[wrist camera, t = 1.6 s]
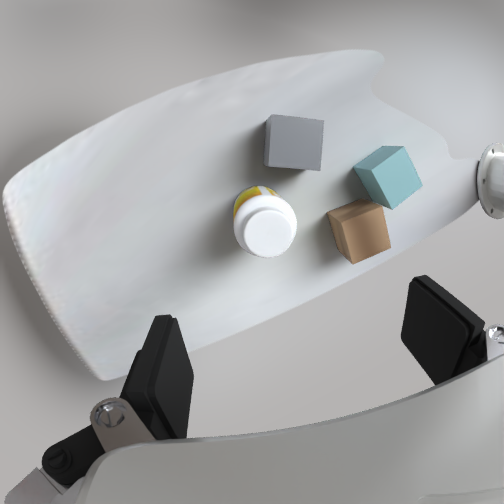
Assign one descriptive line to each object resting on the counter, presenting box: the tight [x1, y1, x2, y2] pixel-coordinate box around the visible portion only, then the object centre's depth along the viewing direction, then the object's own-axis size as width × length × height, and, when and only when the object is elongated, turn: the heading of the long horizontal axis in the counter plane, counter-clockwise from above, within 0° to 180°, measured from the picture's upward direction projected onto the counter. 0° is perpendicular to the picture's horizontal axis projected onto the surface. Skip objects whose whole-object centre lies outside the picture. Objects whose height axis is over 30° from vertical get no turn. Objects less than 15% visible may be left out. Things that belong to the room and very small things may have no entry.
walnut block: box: [327, 198, 391, 264], centre depth 31 cm, size 5×5×5 cm
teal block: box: [353, 146, 423, 210], centre depth 29 cm, size 5×5×5 cm
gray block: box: [263, 115, 324, 171], centre depth 27 cm, size 5×5×5 cm
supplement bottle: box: [233, 186, 297, 258], centre depth 27 cm, size 6×6×10 cm
